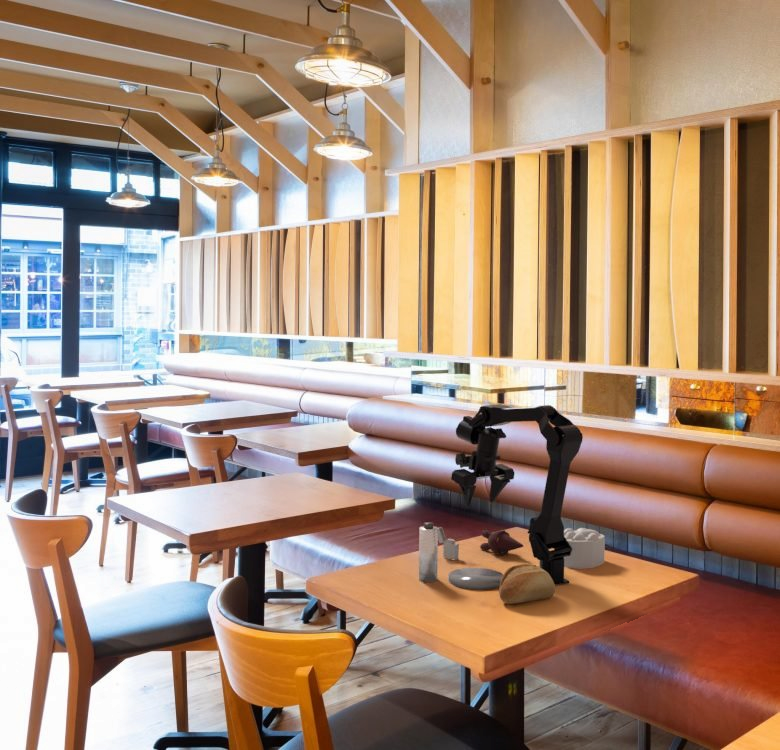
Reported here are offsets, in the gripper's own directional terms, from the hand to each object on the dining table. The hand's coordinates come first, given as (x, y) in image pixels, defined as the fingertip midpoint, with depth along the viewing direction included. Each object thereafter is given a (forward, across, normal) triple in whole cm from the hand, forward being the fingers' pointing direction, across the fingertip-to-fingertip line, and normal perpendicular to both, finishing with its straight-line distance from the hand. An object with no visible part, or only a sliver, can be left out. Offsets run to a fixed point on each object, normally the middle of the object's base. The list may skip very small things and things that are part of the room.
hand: (479, 504), depth 222 cm
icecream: (+14, -8, +4) cm, 17 cm away
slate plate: (+12, +15, +17) cm, 26 cm away
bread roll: (+9, +15, +34) cm, 39 cm away
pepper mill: (+13, +24, +10) cm, 29 cm away
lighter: (+16, +7, -2) cm, 17 cm away
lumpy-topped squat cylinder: (+11, -19, +22) cm, 31 cm away
